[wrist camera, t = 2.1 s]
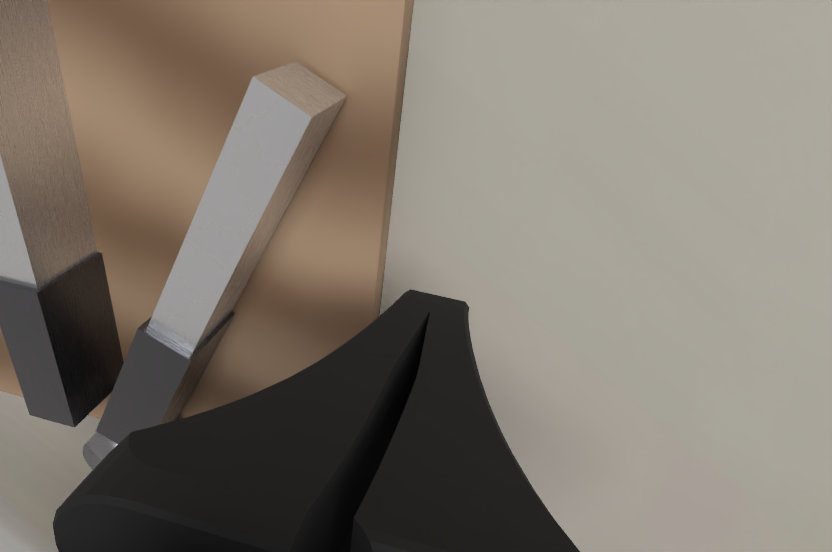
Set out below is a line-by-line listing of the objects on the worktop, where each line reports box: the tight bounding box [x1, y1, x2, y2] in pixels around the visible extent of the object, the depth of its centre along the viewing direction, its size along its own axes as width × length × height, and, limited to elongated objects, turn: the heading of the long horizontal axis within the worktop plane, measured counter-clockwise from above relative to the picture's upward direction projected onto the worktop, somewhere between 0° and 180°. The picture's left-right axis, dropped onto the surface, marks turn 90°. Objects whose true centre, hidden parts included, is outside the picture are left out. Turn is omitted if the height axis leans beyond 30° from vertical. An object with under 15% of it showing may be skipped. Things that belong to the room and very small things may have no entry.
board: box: [0, 0, 414, 419], centre depth 20 cm, size 19×18×1 cm
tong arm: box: [83, 61, 347, 470], centre depth 18 cm, size 18×2×3 cm, turn 148°
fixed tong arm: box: [0, 0, 124, 427], centre depth 18 cm, size 15×2×3 cm, turn 173°
